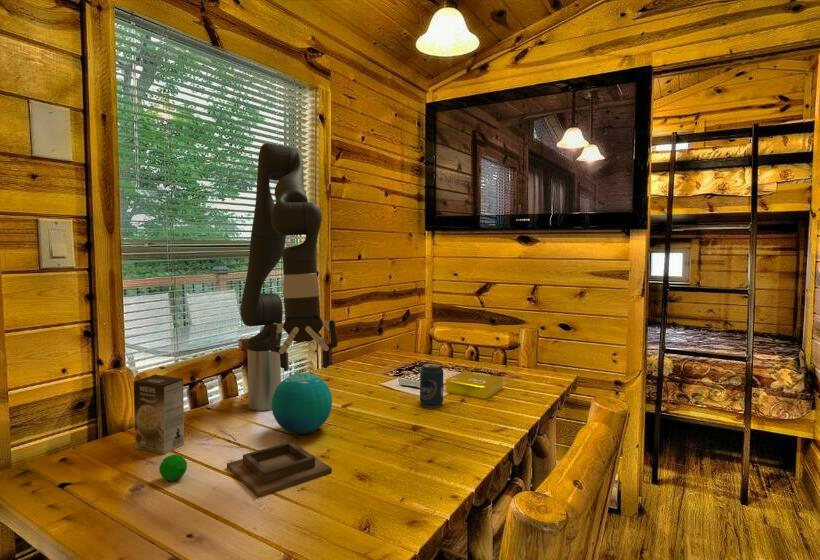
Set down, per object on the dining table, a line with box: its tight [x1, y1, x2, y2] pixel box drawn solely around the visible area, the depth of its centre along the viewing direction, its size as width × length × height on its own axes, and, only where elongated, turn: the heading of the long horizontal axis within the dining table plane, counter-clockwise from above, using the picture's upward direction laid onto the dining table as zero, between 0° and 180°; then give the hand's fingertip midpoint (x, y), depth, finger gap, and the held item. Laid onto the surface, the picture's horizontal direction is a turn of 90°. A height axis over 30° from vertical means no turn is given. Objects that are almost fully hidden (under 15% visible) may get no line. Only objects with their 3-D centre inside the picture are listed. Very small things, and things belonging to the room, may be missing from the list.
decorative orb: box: [271, 372, 333, 435], centre depth 123 cm, size 15×15×15 cm
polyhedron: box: [159, 454, 188, 482], centre depth 98 cm, size 5×5×5 cm
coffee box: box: [133, 374, 185, 455], centre depth 114 cm, size 9×6×16 cm
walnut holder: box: [226, 441, 333, 498], centre depth 102 cm, size 16×16×3 cm
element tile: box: [445, 370, 503, 400], centre depth 161 cm, size 15×15×5 cm
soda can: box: [419, 362, 444, 408], centre depth 145 cm, size 7×7×12 cm
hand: (306, 368), depth 106 cm, fingers open, 8 cm apart
